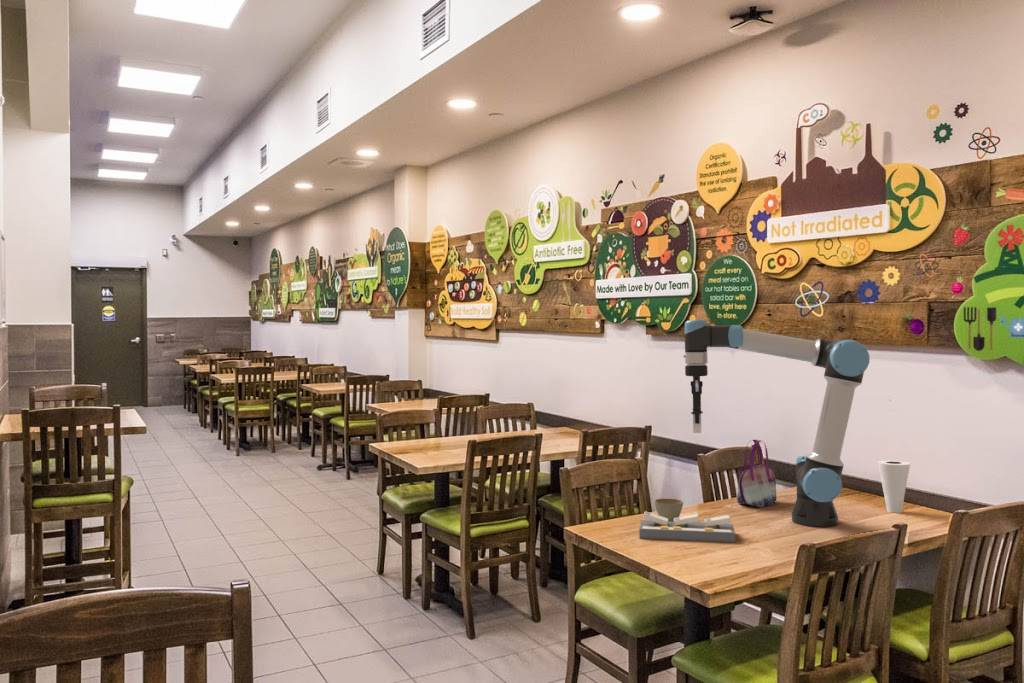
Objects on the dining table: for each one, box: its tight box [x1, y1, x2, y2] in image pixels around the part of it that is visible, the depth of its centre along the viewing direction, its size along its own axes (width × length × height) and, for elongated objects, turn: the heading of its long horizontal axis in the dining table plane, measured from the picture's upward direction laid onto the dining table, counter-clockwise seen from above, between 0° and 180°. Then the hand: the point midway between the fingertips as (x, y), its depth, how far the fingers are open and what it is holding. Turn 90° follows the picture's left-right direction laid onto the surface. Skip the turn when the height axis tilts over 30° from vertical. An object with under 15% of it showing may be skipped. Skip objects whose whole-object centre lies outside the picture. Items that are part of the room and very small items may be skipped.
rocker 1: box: [642, 510, 668, 526], centre depth 250 cm, size 8×4×2 cm, turn 77°
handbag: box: [736, 439, 777, 508], centre depth 291 cm, size 21×10×25 cm, turn 125°
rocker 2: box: [674, 513, 700, 526], centre depth 247 cm, size 8×4×2 cm, turn 77°
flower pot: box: [653, 497, 684, 522], centre depth 266 cm, size 10×10×7 cm
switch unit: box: [638, 519, 736, 543], centre depth 246 cm, size 30×12×4 cm, turn 77°
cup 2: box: [877, 459, 911, 514], centre depth 276 cm, size 11×11×18 cm
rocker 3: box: [704, 514, 732, 527], centre depth 245 cm, size 8×4×2 cm, turn 77°
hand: (697, 432), depth 259 cm, fingers closed
